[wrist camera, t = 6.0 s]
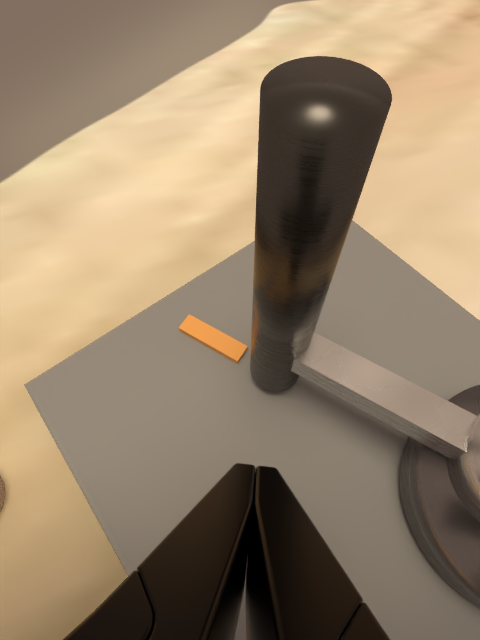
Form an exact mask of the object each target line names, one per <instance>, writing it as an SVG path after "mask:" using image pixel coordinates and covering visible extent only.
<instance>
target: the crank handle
mask: <svg viewBox="0 0 480 640" xmlns="http://www.w3.org/2000/svg"><path fill="white" fill-rule="evenodd" d="M391 101H392V94H391V90H390V88H389V86H388V84H387V83H386V81H385V80H384V79H383V78H382V77H381V76H380V75H379V74H377V73H376V72H375V71H373V70H372V69H370V68H368V67H366V66H364V65H362V64H359V63H357V62H354V61H350V60H346V59H342V58H336V57H327V56H314V57H304V58H299V59H294V60H291V61H288V62H285V63H283V64H281V65H279V66H277V67H275V68H274V69H273V70H271V71H270V72H269V73H268V74H267V75H266V76H265V78H264V80H263V81H262V84H261V89H260V115H259V142H258V169H257V195H256V222H255V249H254V275H253V302H252V329H251V356H250V372H251V376H252V378H253V380H254V381H255V383H256V384H257V385H258V386H260V387H261V388H263V389H265V390H267V391H271V392H282V391H285V390H287V389H289V388H291V387H292V386H293V385H294V384H295V383H296V382H297V380H298V378H299V376H301V377H303V378H305V379H307V380H309V381H311V382H312V383H314V384H316V385H318V386H320V387H321V388H323V389H325V390H327V391H329V392H330V393H332V394H334V395H336V396H338V397H339V398H341V399H343V400H345V401H347V402H349V403H350V404H352V405H354V406H356V407H358V408H359V409H361V410H363V411H365V412H367V413H368V414H370V415H372V416H374V417H376V418H377V419H379V420H381V421H383V422H385V423H386V424H388V425H390V426H392V427H394V428H396V429H397V430H399V431H401V432H403V433H405V434H406V435H408V436H409V437H408V439H407V442H406V444H405V446H404V449H403V453H402V457H401V462H400V471H399V486H400V493H401V500H402V504H403V508H404V512H405V516H406V518H407V521H408V524H409V526H410V529H411V531H412V533H413V535H414V537H415V539H416V541H417V543H418V545H419V547H420V548H421V550H422V551H423V553H424V555H425V556H426V558H427V559H428V561H429V562H430V563H431V564H432V566H433V567H434V568H435V569H436V571H437V572H438V573H439V574H440V575H441V576H442V577H443V578H444V580H445V581H446V582H447V583H448V584H449V585H450V586H451V587H452V588H454V589H455V590H456V591H457V592H458V593H460V594H461V595H462V596H463V597H464V598H466V599H467V600H469V601H470V602H472V603H473V604H475V605H476V606H478V607H479V608H480V385H476V386H473V387H471V388H468V389H466V390H464V391H462V392H460V393H458V394H457V395H455V396H453V397H452V398H450V399H449V400H448V401H447V400H445V399H443V398H441V397H439V396H437V395H436V394H434V393H432V392H430V391H428V390H426V389H424V388H422V387H420V386H418V385H416V384H414V383H412V382H410V381H408V380H406V379H404V378H402V377H401V376H399V375H397V374H395V373H393V372H391V371H389V370H387V369H385V368H383V367H381V366H379V365H377V364H375V363H373V362H371V361H369V360H367V359H366V358H364V357H362V356H360V355H358V354H356V353H354V352H352V351H350V350H348V349H346V348H344V347H342V346H340V345H338V344H336V343H334V342H332V341H331V340H329V339H327V338H325V337H323V336H321V335H319V334H317V333H315V332H314V331H315V328H316V325H317V322H318V319H319V316H320V313H321V310H322V307H323V304H324V301H325V298H326V295H327V293H328V290H329V287H330V284H331V281H332V278H333V275H334V272H335V269H336V266H337V263H338V260H339V257H340V254H341V251H342V248H343V245H344V242H345V239H346V236H347V233H348V230H349V227H350V224H351V221H352V218H353V215H354V212H355V209H356V207H357V204H358V201H359V198H360V195H361V192H362V189H363V186H364V183H365V180H366V177H367V174H368V171H369V168H370V165H371V162H372V159H373V156H374V153H375V150H376V147H377V144H378V141H379V138H380V135H381V132H382V129H383V126H384V123H385V120H386V118H387V115H388V112H389V109H390V106H391Z"/></svg>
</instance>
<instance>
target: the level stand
mask: <svg viewBox="0 0 480 640" xmlns="http://www.w3.org/2000/svg"><path fill="white" fill-rule="evenodd" d="M254 249H255V241H254V242H252V243H251V244H249V245H248V246H246V247H244V248H243V249H241V250H240V251H238V252H236V253H235V254H233V255H232V256H230V257H228V258H227V259H225V260H224V261H222V262H220V263H219V264H217V265H216V266H214V267H212V268H211V269H209V270H208V271H206V272H204V273H203V274H201V275H200V276H198V277H196V278H195V279H193V280H192V281H190V282H188V283H187V284H185V285H184V286H182V287H180V288H179V289H177V290H175V291H174V292H172V293H171V294H169V295H167V296H166V297H164V298H163V299H161V300H159V301H158V302H156V303H155V304H153V305H151V306H150V307H148V308H147V309H145V310H143V311H142V312H140V313H139V314H137V315H135V316H134V317H132V318H131V319H129V320H127V321H126V322H124V323H123V324H121V325H119V326H118V327H116V328H115V329H113V330H111V331H110V332H108V333H107V334H105V335H103V336H102V337H100V338H99V339H97V340H95V341H94V342H92V343H91V344H89V345H87V346H86V347H84V348H83V349H81V350H79V351H78V352H76V353H75V354H73V355H71V356H70V357H68V358H67V359H65V360H63V361H62V362H60V363H59V364H57V365H55V366H54V367H52V368H51V369H49V370H47V371H46V372H44V373H43V374H41V375H39V376H38V377H36V378H35V379H33V380H31V381H30V382H28V383H27V384H25V387H26V389H27V391H28V393H29V395H30V396H31V398H32V400H33V402H34V404H35V406H36V408H37V409H38V411H39V413H40V415H41V417H42V419H43V420H44V422H45V424H46V426H47V428H48V430H49V431H50V433H51V435H52V437H53V439H54V441H55V442H56V444H57V446H58V448H59V450H60V452H61V453H62V455H63V457H64V459H65V461H66V463H67V464H68V466H69V468H70V470H71V472H72V474H73V476H74V477H75V479H76V481H77V483H78V485H79V487H80V488H81V490H82V492H83V494H84V496H85V498H86V499H87V501H88V503H89V505H90V507H91V509H92V510H93V512H94V514H95V516H96V518H97V520H98V521H99V523H100V525H101V527H102V529H103V531H104V532H105V534H106V536H107V538H108V540H109V542H110V544H111V545H112V547H113V549H114V551H115V553H116V555H117V556H118V558H119V560H120V562H121V564H122V566H123V567H124V569H125V571H126V573H127V575H128V576H129V575H130V574H131V573H132V572H133V571H135V570H136V569H137V567H138V566H139V565H140V564H141V563H142V562H143V561H144V560H145V558H146V557H147V556H148V555H149V554H150V553H151V552H152V551H153V550H154V549H155V548H156V547H157V546H158V545H159V544H160V543H161V542H162V540H163V539H164V538H165V537H166V536H167V535H168V534H169V533H170V532H171V531H172V530H173V529H174V528H175V527H176V526H177V525H178V524H179V522H180V521H181V520H182V519H183V518H184V517H185V516H186V515H187V514H188V513H189V512H190V511H191V510H192V509H193V508H194V507H195V506H196V504H197V503H198V502H199V501H200V500H201V499H202V498H203V497H204V496H205V495H206V494H207V493H208V492H209V491H210V490H211V489H212V488H213V486H214V485H215V484H216V483H217V482H218V481H219V480H220V479H221V478H222V477H223V476H224V475H225V474H226V473H227V472H228V471H229V470H230V468H231V467H232V466H233V465H234V464H236V463H242V464H251V465H254V466H255V468H256V467H257V466H268V467H275V468H277V469H278V471H279V472H280V474H281V475H282V477H283V478H284V480H285V481H286V483H287V484H288V486H289V487H290V489H291V491H292V492H293V494H294V495H295V497H296V498H297V500H298V501H299V503H300V504H301V506H302V507H303V509H304V510H305V512H306V513H307V515H308V516H309V518H310V519H311V521H312V522H313V524H314V525H315V527H316V528H317V530H318V531H319V533H320V535H321V536H322V538H323V539H324V541H325V542H326V544H327V545H328V547H329V548H330V550H331V551H332V553H333V554H334V556H335V557H336V559H337V560H338V562H339V563H340V565H341V566H342V568H343V569H344V571H345V572H346V574H347V575H348V577H349V579H350V580H351V582H352V583H353V585H354V586H355V588H356V589H357V591H358V592H359V594H360V595H361V597H362V598H363V603H366V604H367V605H368V607H369V609H370V610H371V612H372V613H373V615H374V616H375V618H376V619H377V621H378V622H379V624H380V625H381V627H382V628H383V630H384V631H385V632H386V634H387V635H388V637H389V638H390V640H480V608H479V607H478V606H476V605H475V604H473V603H472V602H470V601H469V600H467V599H466V598H464V597H463V596H462V595H461V594H460V593H458V592H457V591H456V590H455V589H454V588H452V587H451V586H450V585H449V584H448V583H447V582H446V581H445V580H444V578H443V577H442V576H441V575H440V574H439V573H438V572H437V571H436V569H435V568H434V567H433V566H432V564H431V563H430V562H429V561H428V559H427V558H426V556H425V555H424V553H423V551H422V550H421V548H420V547H419V545H418V543H417V541H416V539H415V537H414V535H413V533H412V531H411V529H410V526H409V524H408V521H407V518H406V516H405V512H404V508H403V504H402V500H401V493H400V486H399V471H400V462H401V457H402V453H403V449H404V446H405V444H406V442H407V439H408V437H409V436H408V435H406V434H405V433H403V432H401V431H399V430H397V429H396V428H394V427H392V426H390V425H388V424H386V423H385V422H383V421H381V420H379V419H377V418H376V417H374V416H372V415H370V414H368V413H367V412H365V411H363V410H361V409H359V408H358V407H356V406H354V405H352V404H350V403H349V402H347V401H345V400H343V399H341V398H339V397H338V396H336V395H334V394H332V393H330V392H329V391H327V390H325V389H323V388H321V387H320V386H318V385H316V384H314V383H312V382H311V381H309V380H307V379H305V378H303V377H301V376H299V378H298V380H297V382H296V383H295V384H294V385H293V386H292V387H291V388H289V389H287V390H285V391H282V392H271V391H267V390H265V389H263V388H261V387H260V386H258V385H257V384H256V383H255V381H254V380H253V378H252V376H251V372H250V356H251V329H252V302H253V275H254ZM314 332H315V333H317V334H319V335H321V336H323V337H325V338H327V339H329V340H331V341H332V342H334V343H336V344H338V345H340V346H342V347H344V348H346V349H348V350H350V351H352V352H354V353H356V354H358V355H360V356H362V357H364V358H366V359H367V360H369V361H371V362H373V363H375V364H377V365H379V366H381V367H383V368H385V369H387V370H389V371H391V372H393V373H395V374H397V375H399V376H401V377H402V378H404V379H406V380H408V381H410V382H412V383H414V384H416V385H418V386H420V387H422V388H424V389H426V390H428V391H430V392H432V393H434V394H436V395H437V396H439V397H441V398H443V399H445V400H447V401H448V400H449V399H450V398H452V397H453V396H455V395H457V394H458V393H460V392H462V391H464V390H466V389H468V388H471V387H473V386H476V385H480V321H479V320H478V319H477V318H475V317H474V316H473V315H472V314H470V313H469V312H468V311H467V310H465V309H464V308H463V307H462V306H460V305H459V304H458V303H456V302H455V301H454V300H453V299H451V298H450V297H449V296H448V295H446V294H445V293H444V292H443V291H441V290H440V289H439V288H437V287H436V286H435V285H434V284H432V283H431V282H430V281H429V280H427V279H426V278H425V277H424V276H422V275H421V274H420V273H418V272H417V271H416V270H415V269H413V268H412V267H411V266H410V265H408V264H407V263H406V262H405V261H403V260H402V259H401V258H400V257H398V256H397V255H396V254H394V253H393V252H392V251H391V250H389V249H388V248H387V247H386V246H384V245H383V244H382V243H381V242H379V241H378V240H377V239H375V238H374V237H373V236H372V235H370V234H369V233H368V232H367V231H365V230H364V229H363V228H362V227H360V226H359V225H358V224H356V223H355V222H354V221H353V220H352V221H351V224H350V227H349V230H348V233H347V236H346V239H345V242H344V245H343V248H342V251H341V254H340V257H339V260H338V263H337V266H336V269H335V272H334V275H333V278H332V281H331V284H330V287H329V290H328V293H327V295H326V298H325V301H324V304H323V307H322V310H321V313H320V316H319V319H318V322H317V325H316V328H315V331H314ZM255 472H256V470H255ZM247 559H248V558H247ZM246 571H247V568H246ZM245 586H246V578H245ZM245 586H244V593H243V599H242V604H241V609H240V614H239V619H238V624H237V629H236V634H235V639H234V640H246V611H245Z"/></svg>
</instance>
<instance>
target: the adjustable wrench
mask: <svg viewBox="0 0 480 640" xmlns="http://www.w3.org/2000/svg"><path fill="white" fill-rule="evenodd" d="M4 499H5V487H4V483H3V481H2V479H1V477H0V511H1V509H2V507H3V504H4Z"/></svg>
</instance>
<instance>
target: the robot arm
mask: <svg viewBox="0 0 480 640" xmlns="http://www.w3.org/2000/svg"><path fill="white" fill-rule="evenodd" d="M255 470H256V472H255ZM247 558H248V559H247ZM246 568H247V571H246ZM245 578H246V586H245ZM244 586H245V611H246V640H390V638H389V637H388V635H387V634H386V632H385V631H384V630H383V628H382V627H381V625H380V624H379V622H378V621H377V619H376V618H375V616H374V615H373V613H372V612H371V610H370V609H369V607H368V605H367V604H366V603H363V598H362V597H361V595H360V594H359V592H358V591H357V589H356V588H355V586H354V585H353V583H352V582H351V580H350V579H349V577H348V575H347V574H346V572H345V571H344V569H343V568H342V566H341V565H340V563H339V562H338V560H337V559H336V557H335V556H334V554H333V553H332V551H331V550H330V548H329V547H328V545H327V544H326V542H325V541H324V539H323V538H322V536H321V535H320V533H319V531H318V530H317V528H316V527H315V525H314V524H313V522H312V521H311V519H310V518H309V516H308V515H307V513H306V512H305V510H304V509H303V507H302V506H301V504H300V503H299V501H298V500H297V498H296V497H295V495H294V494H293V492H292V491H291V489H290V487H289V486H288V484H287V483H286V481H285V480H284V478H283V477H282V475H281V474H280V472H279V471H278V469H277V468H275V467H268V466H257V467H256V468H255V466H254V465H251V464H242V463H236V464H234V465H233V466H232V467H231V468H230V470H229V471H228V472H227V473H226V474H225V475H224V476H223V477H222V478H221V479H220V480H219V481H218V482H217V483H216V484H215V485H214V486H213V488H212V489H211V490H210V491H209V492H208V493H207V494H206V495H205V496H204V497H203V498H202V499H201V500H200V501H199V502H198V503H197V504H196V506H195V507H194V508H193V509H192V510H191V511H190V512H189V513H188V514H187V515H186V516H185V517H184V518H183V519H182V520H181V521H180V522H179V524H178V525H177V526H176V527H175V528H174V529H173V530H172V531H171V532H170V533H169V534H168V535H167V536H166V537H165V538H164V539H163V540H162V542H161V543H160V544H159V545H158V546H157V547H156V548H155V549H154V550H153V551H152V552H151V553H150V554H149V555H148V556H147V557H146V558H145V560H144V561H143V562H142V563H141V564H140V565H139V566H138V567H137V569H136V570H135V571H133V572H132V573H131V574H130V575H129V576H128V577H127V578H126V579H125V580H124V581H123V583H122V584H121V585H120V586H119V587H118V588H117V589H116V590H115V591H114V592H113V593H112V594H111V595H110V596H109V597H108V598H107V599H106V600H105V601H104V602H103V603H102V604H101V605H100V606H99V607H98V608H97V609H96V610H95V611H94V612H93V613H92V614H91V615H89V616H88V617H87V618H86V619H85V620H84V621H83V622H82V623H81V624H79V625H78V626H77V627H76V628H75V629H74V630H73V631H72V632H71V633H69V634H68V635H67V636H66V637H65V638H64V639H63V640H234V639H235V634H236V629H237V624H238V619H239V614H240V609H241V604H242V599H243V593H244Z"/></svg>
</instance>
